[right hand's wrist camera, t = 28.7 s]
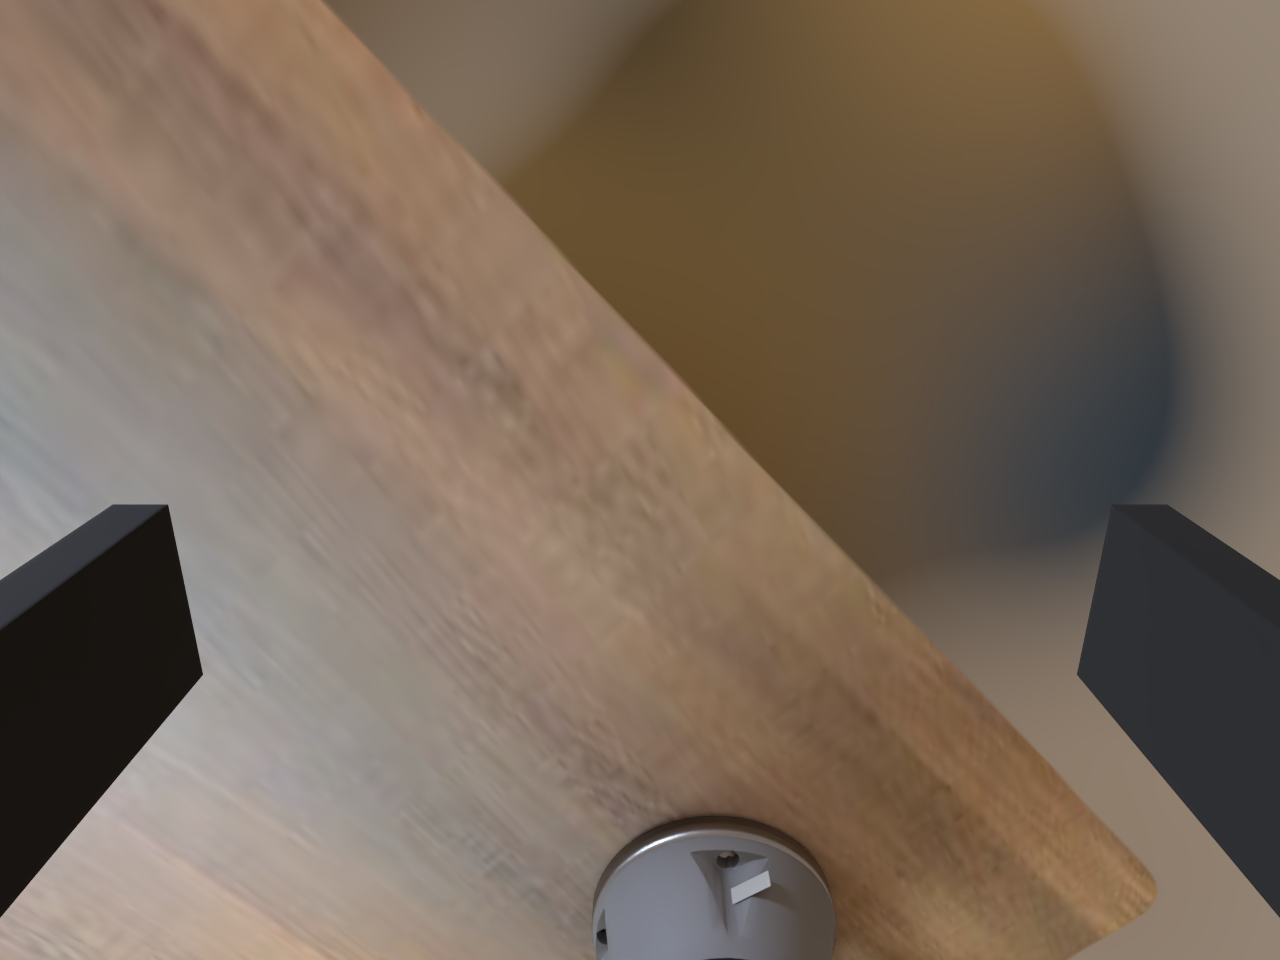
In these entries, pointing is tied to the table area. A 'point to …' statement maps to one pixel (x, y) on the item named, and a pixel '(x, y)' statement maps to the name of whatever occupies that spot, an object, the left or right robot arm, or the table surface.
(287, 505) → the table surface
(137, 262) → the table surface
